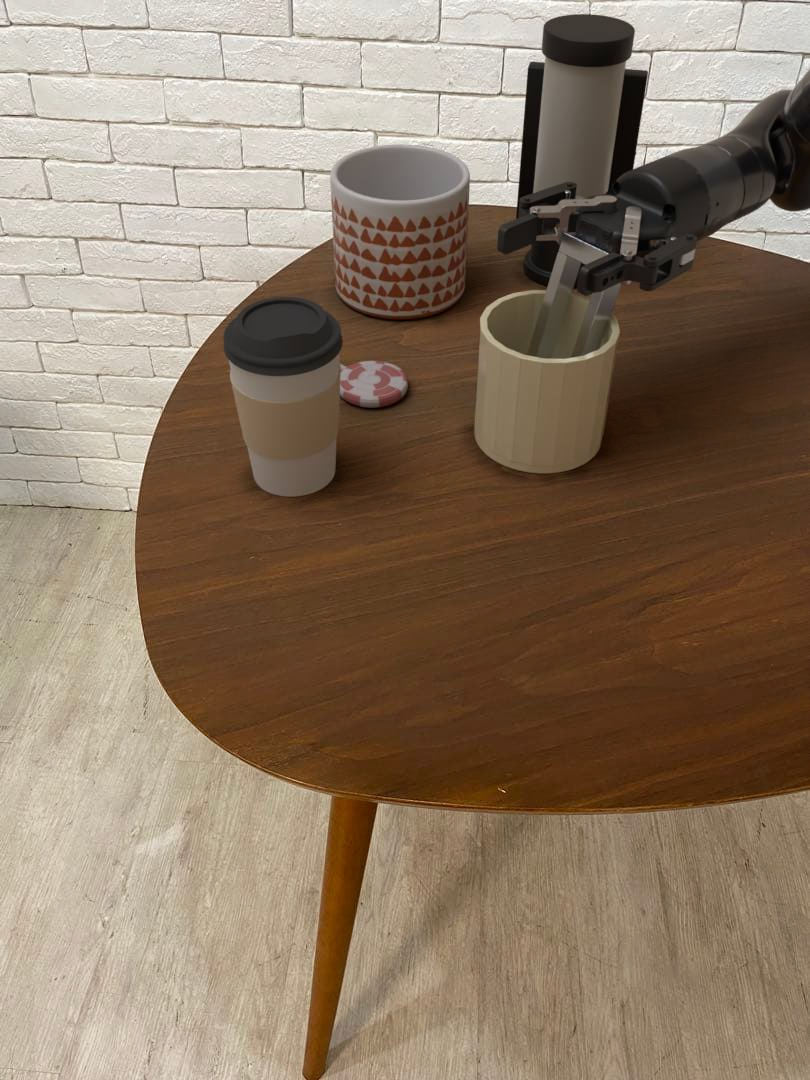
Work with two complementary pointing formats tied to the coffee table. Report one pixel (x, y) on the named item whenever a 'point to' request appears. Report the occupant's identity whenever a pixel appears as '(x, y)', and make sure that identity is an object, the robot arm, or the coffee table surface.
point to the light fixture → (579, 117)
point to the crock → (540, 388)
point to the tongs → (559, 295)
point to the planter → (400, 230)
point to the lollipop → (372, 383)
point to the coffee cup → (287, 391)
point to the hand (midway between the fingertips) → (540, 261)
